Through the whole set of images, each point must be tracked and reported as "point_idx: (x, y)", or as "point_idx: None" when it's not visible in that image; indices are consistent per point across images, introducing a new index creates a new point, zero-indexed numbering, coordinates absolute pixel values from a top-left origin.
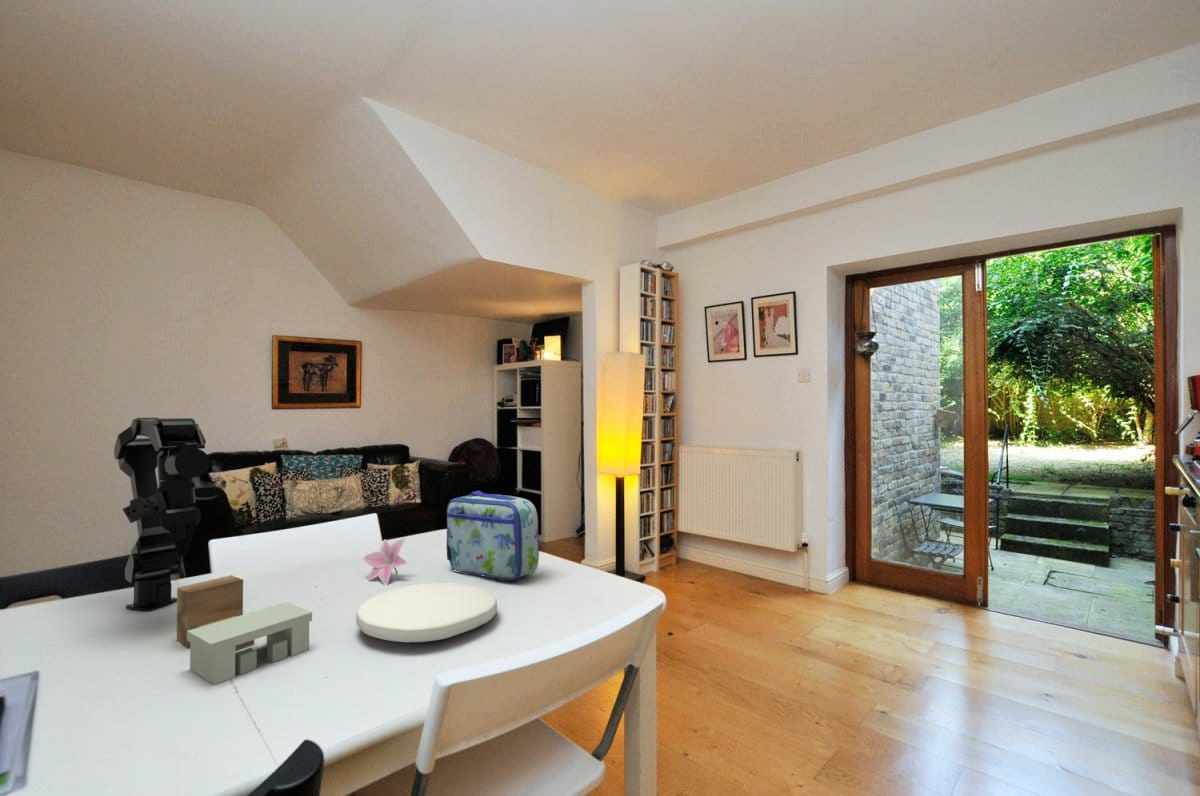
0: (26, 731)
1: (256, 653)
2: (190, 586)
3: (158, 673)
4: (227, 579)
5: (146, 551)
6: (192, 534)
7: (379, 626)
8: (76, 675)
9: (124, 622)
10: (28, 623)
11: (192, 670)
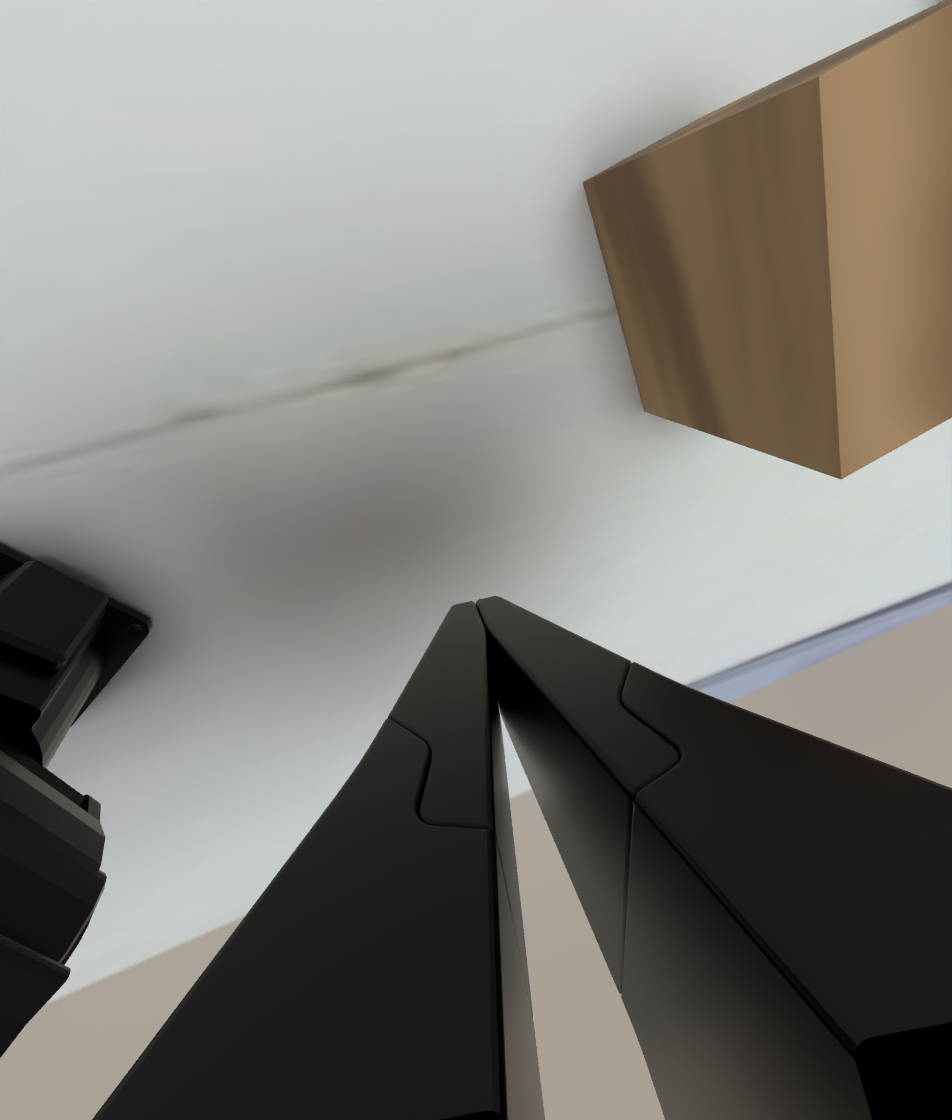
0: (939, 592)
1: None
2: (878, 404)
3: None
4: (926, 122)
5: (16, 978)
6: (707, 703)
7: None
8: (728, 614)
9: (290, 658)
10: (169, 917)
11: None
